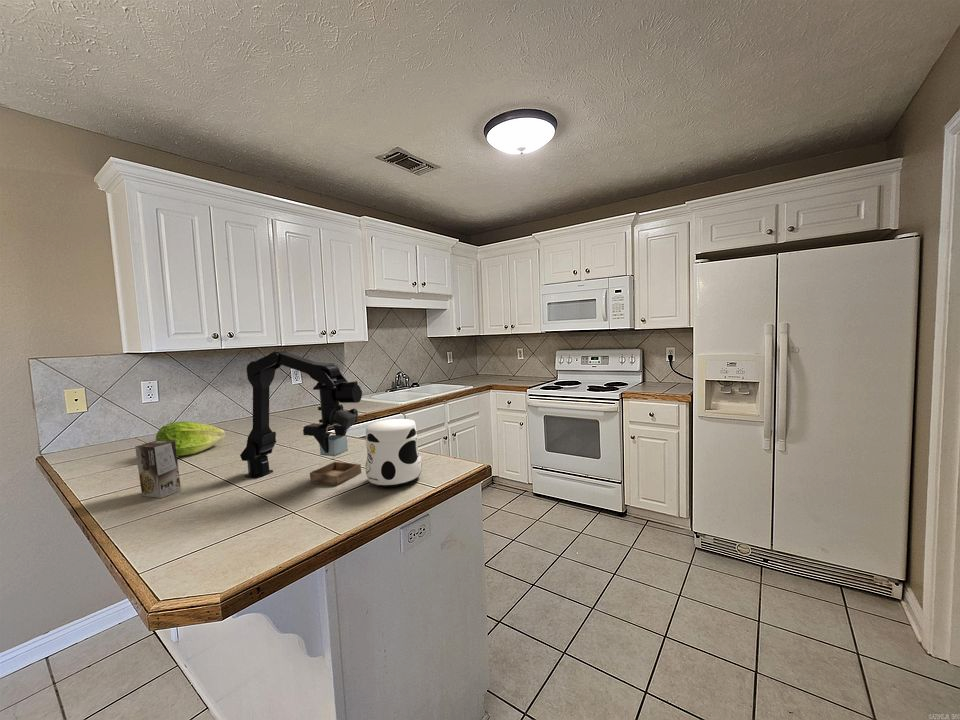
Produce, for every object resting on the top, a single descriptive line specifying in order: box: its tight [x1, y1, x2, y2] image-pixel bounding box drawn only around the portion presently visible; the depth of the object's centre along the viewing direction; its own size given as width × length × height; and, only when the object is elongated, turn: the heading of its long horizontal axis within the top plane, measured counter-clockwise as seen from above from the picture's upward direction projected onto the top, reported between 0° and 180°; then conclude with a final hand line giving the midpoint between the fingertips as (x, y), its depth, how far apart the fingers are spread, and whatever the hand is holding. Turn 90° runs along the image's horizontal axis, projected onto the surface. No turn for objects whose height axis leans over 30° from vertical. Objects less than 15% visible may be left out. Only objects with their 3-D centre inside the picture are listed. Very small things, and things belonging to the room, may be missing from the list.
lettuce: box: [155, 421, 226, 458], centre depth 171 cm, size 17×24×14 cm
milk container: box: [364, 418, 423, 488], centre depth 125 cm, size 17×17×18 cm
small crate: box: [318, 434, 349, 457], centre depth 130 cm, size 6×6×5 cm
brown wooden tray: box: [309, 461, 362, 487], centre depth 131 cm, size 11×11×3 cm
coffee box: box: [134, 440, 182, 499], centre depth 125 cm, size 9×6×16 cm
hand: (333, 449), depth 130 cm, fingers closed on small crate, 6 cm apart
